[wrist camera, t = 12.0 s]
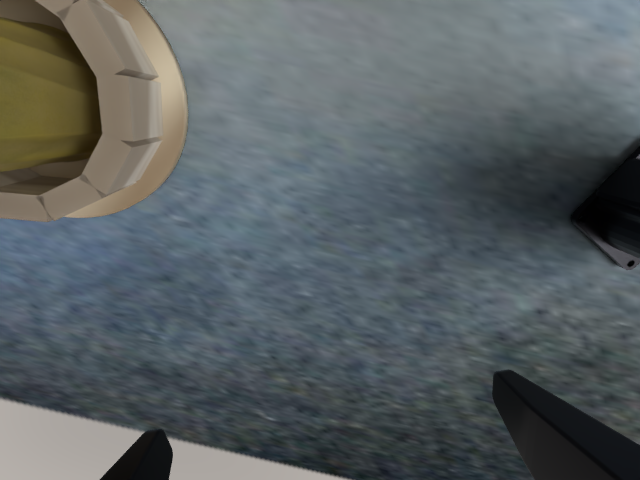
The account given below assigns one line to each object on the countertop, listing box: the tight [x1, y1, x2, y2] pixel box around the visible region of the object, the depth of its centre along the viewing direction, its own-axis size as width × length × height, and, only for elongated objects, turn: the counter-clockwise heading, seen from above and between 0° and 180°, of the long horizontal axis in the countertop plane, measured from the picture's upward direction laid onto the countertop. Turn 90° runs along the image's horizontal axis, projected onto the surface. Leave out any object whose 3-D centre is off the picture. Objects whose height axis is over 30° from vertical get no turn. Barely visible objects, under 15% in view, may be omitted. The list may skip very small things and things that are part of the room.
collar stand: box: [0, 0, 188, 222], centre depth 15 cm, size 12×12×4 cm
